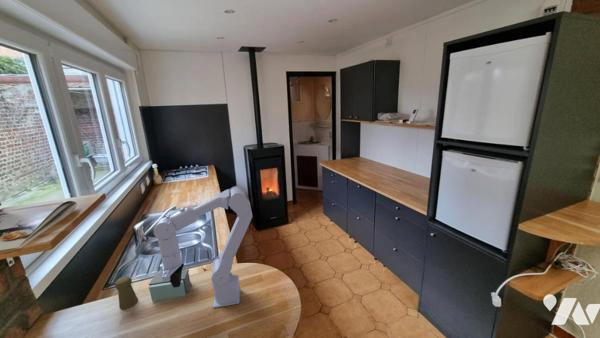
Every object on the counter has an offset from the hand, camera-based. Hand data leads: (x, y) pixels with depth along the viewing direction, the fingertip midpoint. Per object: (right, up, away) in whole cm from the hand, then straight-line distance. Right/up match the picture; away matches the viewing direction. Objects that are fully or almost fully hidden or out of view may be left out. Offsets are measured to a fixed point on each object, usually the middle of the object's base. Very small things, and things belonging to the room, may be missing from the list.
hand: (177, 285), depth 88 cm
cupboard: (-8, -8, +13) cm, 17 cm away
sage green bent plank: (-7, -9, +9) cm, 14 cm away
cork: (-22, -11, +7) cm, 26 cm away
